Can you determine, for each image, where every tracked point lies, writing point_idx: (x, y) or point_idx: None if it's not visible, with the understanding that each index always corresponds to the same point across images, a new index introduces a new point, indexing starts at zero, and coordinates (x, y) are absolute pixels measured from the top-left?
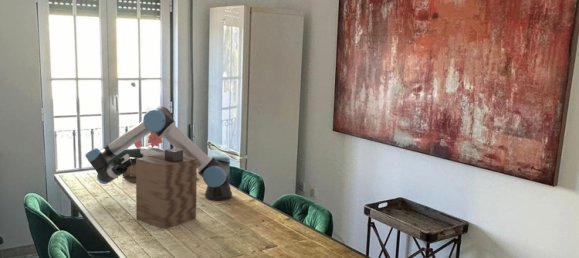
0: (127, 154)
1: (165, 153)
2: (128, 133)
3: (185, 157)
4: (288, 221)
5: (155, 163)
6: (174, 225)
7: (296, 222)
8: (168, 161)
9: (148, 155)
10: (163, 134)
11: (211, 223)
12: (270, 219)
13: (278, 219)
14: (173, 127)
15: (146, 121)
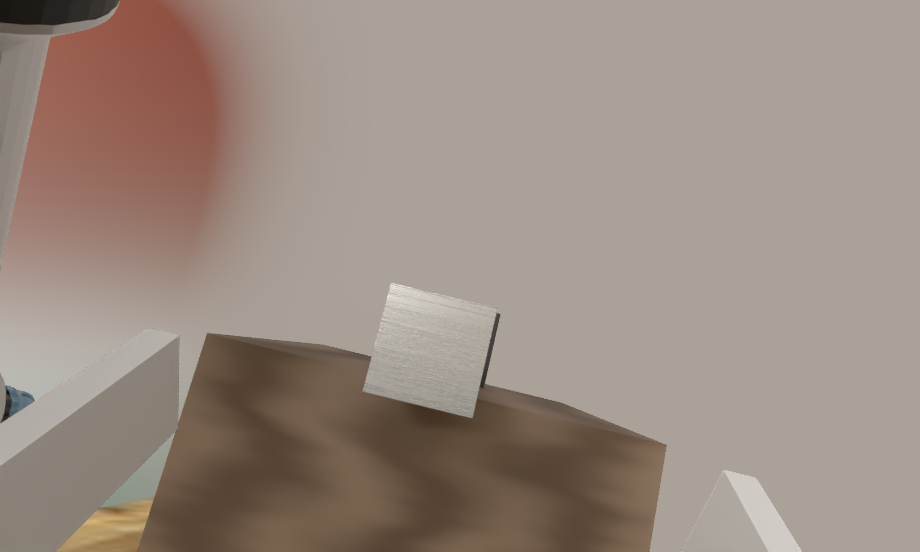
0: (742, 489)
1: (494, 337)
2: None
3: (325, 348)
4: (143, 510)
5: (580, 410)
6: None
7: (148, 500)
8: (484, 386)
9: (107, 479)
10: (55, 35)
11: None
12: (132, 536)
13: (126, 524)
14: None
15: None
